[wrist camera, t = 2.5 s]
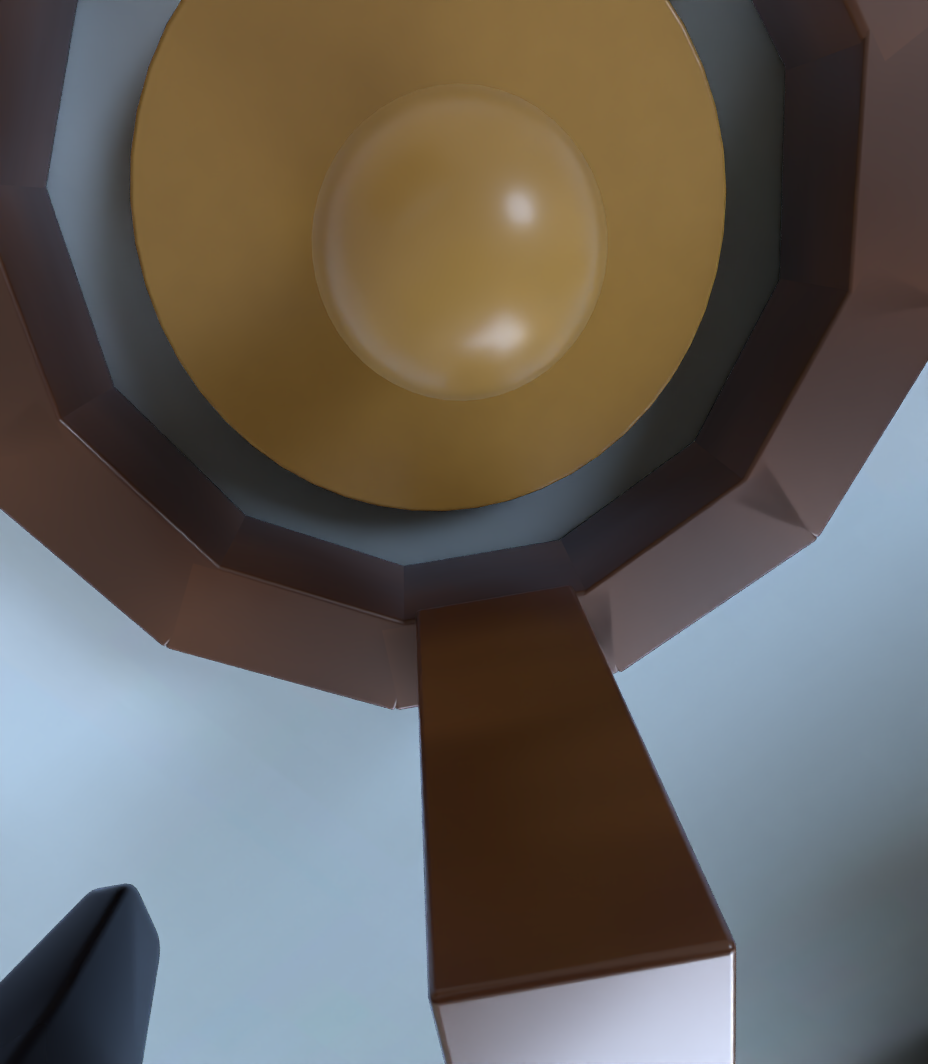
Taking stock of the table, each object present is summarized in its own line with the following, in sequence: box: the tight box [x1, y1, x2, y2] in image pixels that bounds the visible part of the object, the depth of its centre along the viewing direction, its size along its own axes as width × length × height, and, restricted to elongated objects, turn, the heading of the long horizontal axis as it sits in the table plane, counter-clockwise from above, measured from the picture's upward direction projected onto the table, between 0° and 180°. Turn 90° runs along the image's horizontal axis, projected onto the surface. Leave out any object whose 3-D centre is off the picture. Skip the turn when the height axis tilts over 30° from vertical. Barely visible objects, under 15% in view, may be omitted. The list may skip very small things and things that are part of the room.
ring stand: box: [130, 0, 726, 511], centre depth 8 cm, size 8×8×6 cm
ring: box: [0, 0, 928, 1064], centre depth 7 cm, size 14×14×8 cm
